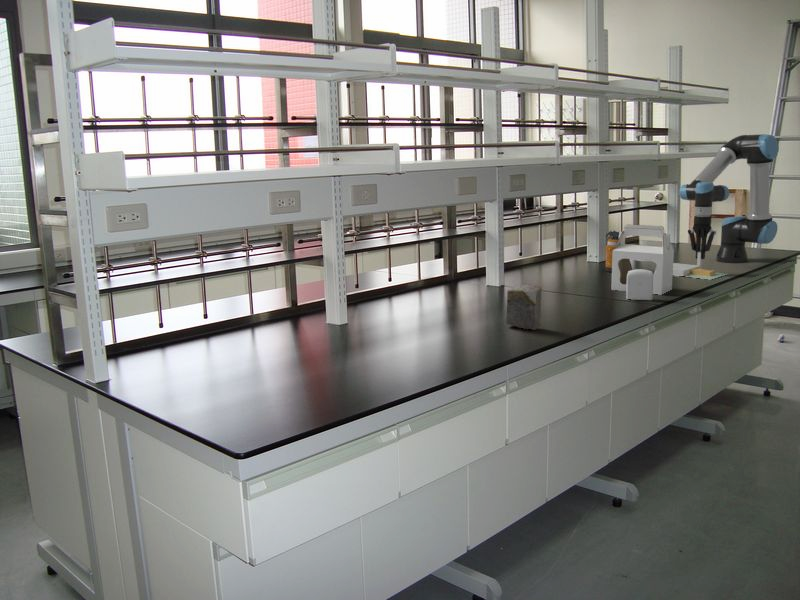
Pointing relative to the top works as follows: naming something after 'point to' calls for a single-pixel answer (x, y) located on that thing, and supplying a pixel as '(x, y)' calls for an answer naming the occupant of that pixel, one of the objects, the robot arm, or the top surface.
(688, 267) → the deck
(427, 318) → the top surface
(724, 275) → the mat
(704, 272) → the light orange flat block
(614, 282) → the gable box
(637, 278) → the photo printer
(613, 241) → the canister
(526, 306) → the geological specimen
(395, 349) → the top surface
